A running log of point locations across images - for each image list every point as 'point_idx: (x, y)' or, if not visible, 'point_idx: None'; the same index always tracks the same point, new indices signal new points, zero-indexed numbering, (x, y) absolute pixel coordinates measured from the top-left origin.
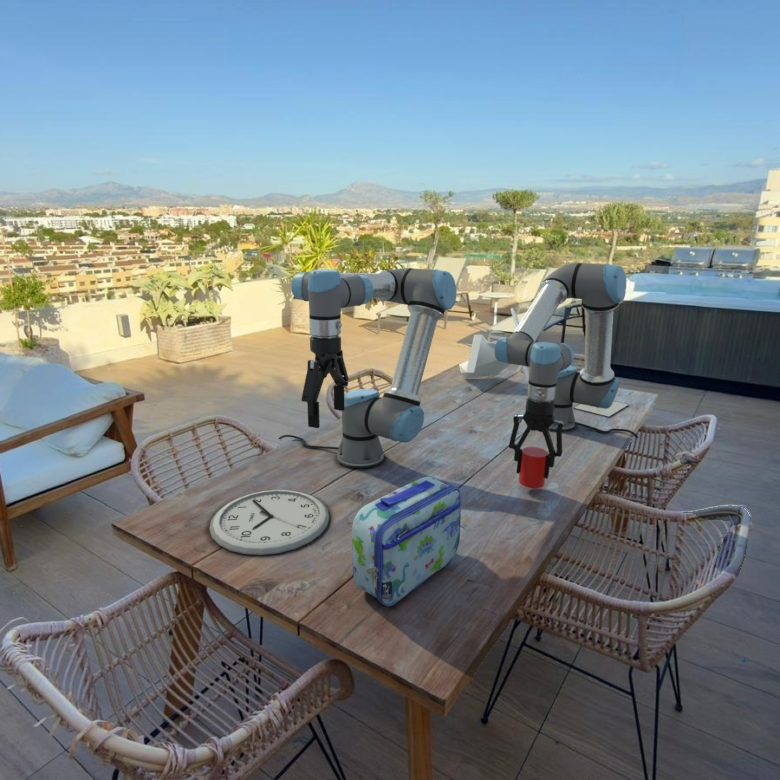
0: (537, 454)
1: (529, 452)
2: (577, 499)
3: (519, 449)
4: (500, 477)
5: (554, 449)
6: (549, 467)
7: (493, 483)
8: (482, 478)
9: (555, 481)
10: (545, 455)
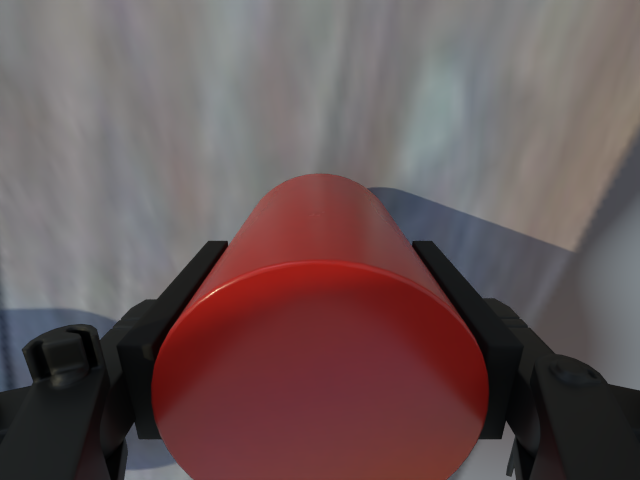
0: (361, 469)
1: (261, 452)
2: (557, 227)
3: (121, 417)
4: (126, 145)
5: (623, 424)
6: (453, 268)
7: (123, 235)
8: (45, 203)
9: (450, 44)
10: (456, 458)
